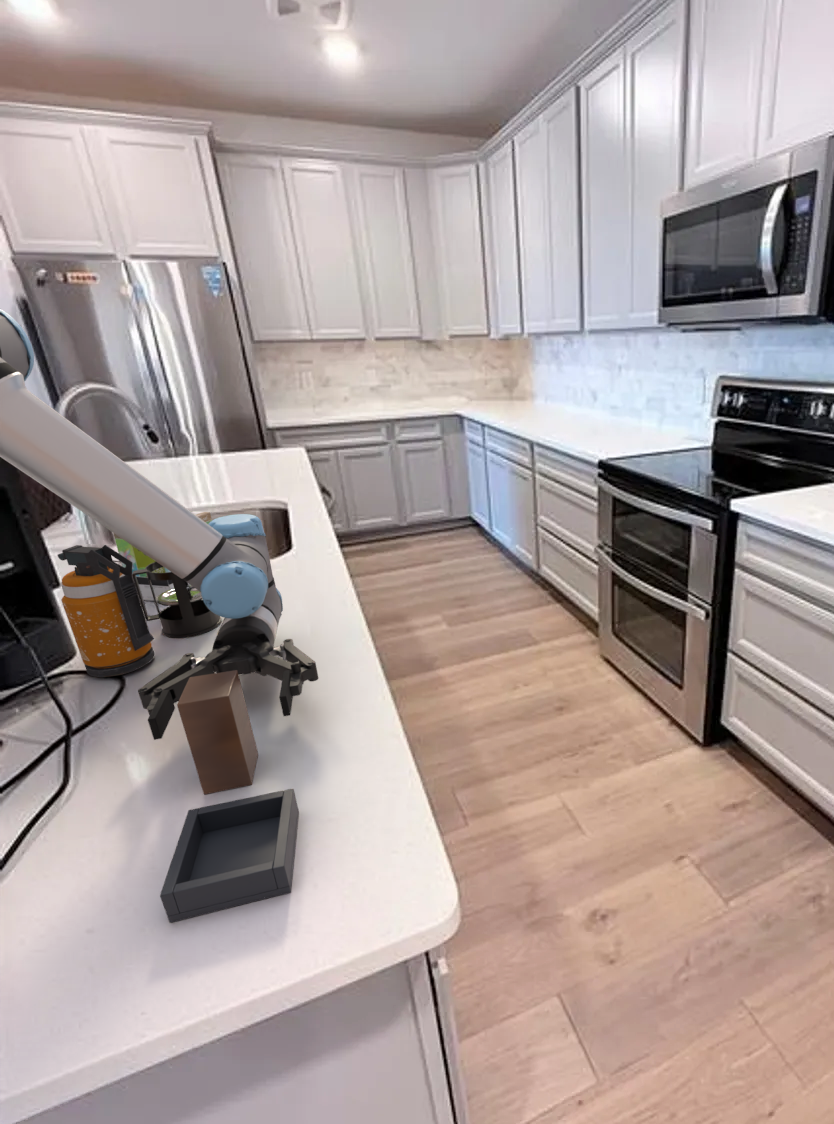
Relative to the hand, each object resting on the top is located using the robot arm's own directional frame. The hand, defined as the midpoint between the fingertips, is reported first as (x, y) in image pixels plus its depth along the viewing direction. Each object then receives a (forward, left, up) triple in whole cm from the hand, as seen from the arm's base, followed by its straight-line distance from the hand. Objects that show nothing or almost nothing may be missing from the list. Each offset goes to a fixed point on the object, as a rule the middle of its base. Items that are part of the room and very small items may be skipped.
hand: (221, 717), depth 71 cm
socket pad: (+3, -16, -7) cm, 18 cm away
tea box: (-20, +68, -7) cm, 71 cm away
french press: (-14, +46, -7) cm, 49 cm away
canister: (-20, +33, -7) cm, 39 cm away
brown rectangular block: (0, -1, -7) cm, 7 cm away
